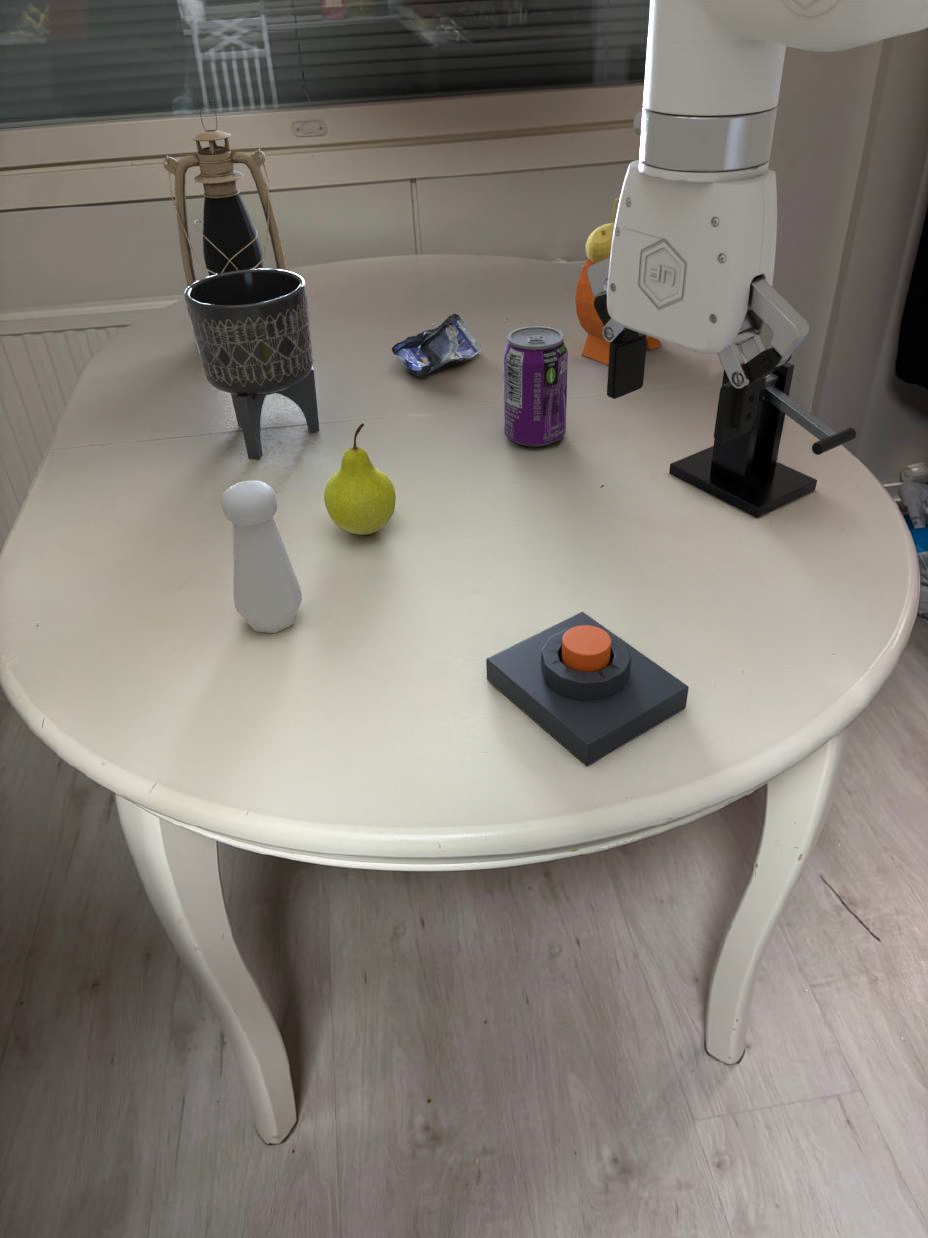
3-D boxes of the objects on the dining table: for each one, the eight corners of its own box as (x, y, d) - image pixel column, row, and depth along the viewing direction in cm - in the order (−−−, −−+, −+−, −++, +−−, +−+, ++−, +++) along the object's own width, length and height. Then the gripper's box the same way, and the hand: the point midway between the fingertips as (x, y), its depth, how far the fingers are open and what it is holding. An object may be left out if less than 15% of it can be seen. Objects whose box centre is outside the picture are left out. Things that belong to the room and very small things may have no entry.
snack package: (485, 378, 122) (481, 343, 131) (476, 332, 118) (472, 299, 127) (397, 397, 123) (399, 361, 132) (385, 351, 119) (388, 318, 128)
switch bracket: (815, 490, 95) (841, 371, 88) (756, 518, 91) (778, 396, 84) (726, 449, 103) (742, 336, 96) (668, 473, 99) (680, 358, 92)
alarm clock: (604, 369, 122) (613, 209, 110) (572, 357, 126) (577, 200, 114) (671, 343, 129) (687, 189, 117) (638, 332, 133) (650, 181, 121)
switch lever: (850, 446, 88) (861, 426, 86) (816, 462, 85) (827, 442, 84) (759, 378, 93) (767, 357, 92) (724, 391, 91) (733, 370, 89)
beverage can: (567, 450, 105) (571, 346, 97) (504, 452, 105) (503, 349, 98) (563, 422, 110) (565, 323, 103) (503, 424, 110) (502, 325, 103)
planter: (305, 466, 104) (280, 308, 93) (198, 459, 106) (162, 304, 96) (340, 416, 114) (321, 269, 103) (241, 411, 116) (213, 266, 106)
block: (686, 708, 70) (692, 668, 68) (586, 767, 66) (589, 726, 63) (581, 631, 78) (583, 593, 76) (486, 679, 74) (485, 640, 71)
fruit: (316, 527, 93) (299, 416, 86) (373, 504, 96) (361, 396, 89) (353, 555, 89) (337, 441, 82) (411, 531, 92) (401, 419, 85)
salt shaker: (249, 647, 78) (219, 514, 70) (231, 612, 82) (200, 483, 74) (315, 626, 80) (292, 494, 72) (293, 593, 84) (270, 465, 76)
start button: (619, 660, 69) (621, 642, 68) (583, 679, 68) (584, 661, 67) (587, 637, 72) (588, 619, 71) (552, 655, 70) (552, 637, 69)
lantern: (194, 351, 134) (143, 118, 116) (201, 323, 143) (154, 103, 125) (296, 341, 135) (260, 109, 117) (295, 314, 144) (263, 96, 126)
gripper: (556, 133, 58) (551, 392, 68) (791, 174, 47) (743, 475, 57) (639, 116, 61) (622, 364, 72) (875, 150, 50) (815, 438, 61)
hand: (676, 413), depth 64 cm, fingers open, 9 cm apart
